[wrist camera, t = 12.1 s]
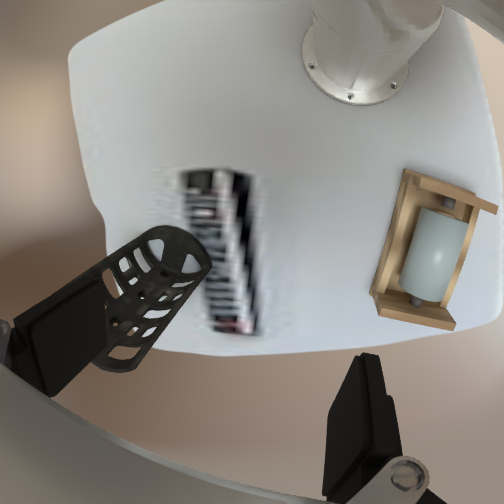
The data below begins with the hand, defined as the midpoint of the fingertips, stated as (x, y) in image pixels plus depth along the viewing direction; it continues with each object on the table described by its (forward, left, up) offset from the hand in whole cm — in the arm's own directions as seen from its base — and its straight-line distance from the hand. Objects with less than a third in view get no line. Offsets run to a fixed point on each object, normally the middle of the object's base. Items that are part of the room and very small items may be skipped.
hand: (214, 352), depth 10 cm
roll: (0, +17, -27) cm, 32 cm away
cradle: (0, +17, -28) cm, 33 cm away
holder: (+10, -14, -28) cm, 33 cm away
